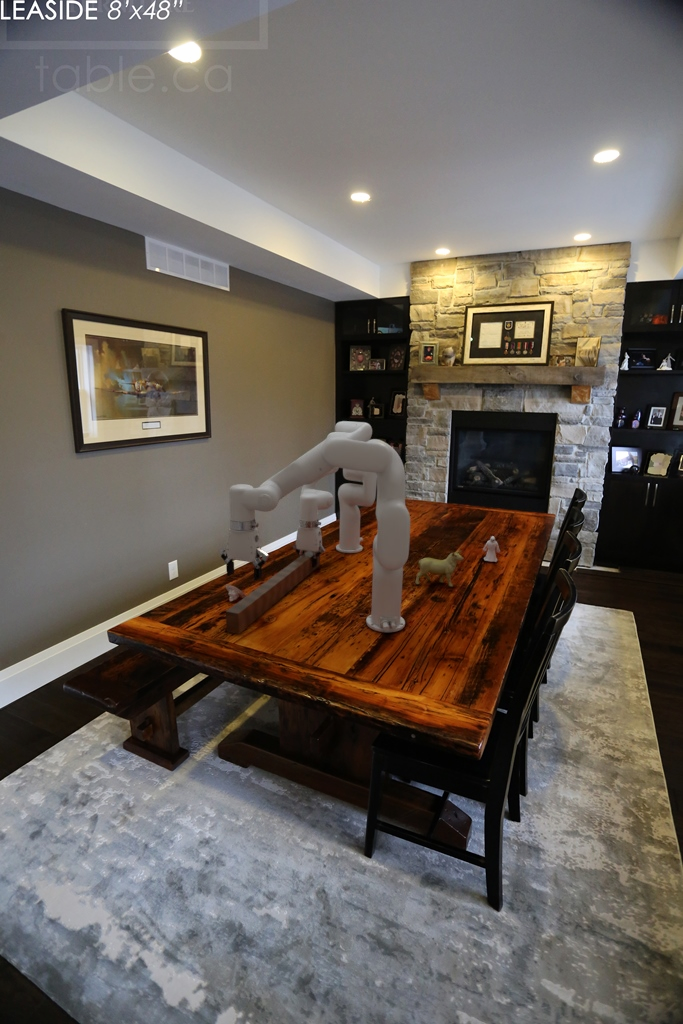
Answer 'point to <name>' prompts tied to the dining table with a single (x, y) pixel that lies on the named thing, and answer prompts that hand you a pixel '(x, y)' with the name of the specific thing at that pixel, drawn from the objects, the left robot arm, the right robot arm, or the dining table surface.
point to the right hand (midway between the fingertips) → (244, 576)
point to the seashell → (234, 592)
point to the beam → (268, 593)
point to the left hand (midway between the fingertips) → (308, 565)
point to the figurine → (491, 550)
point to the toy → (439, 567)
